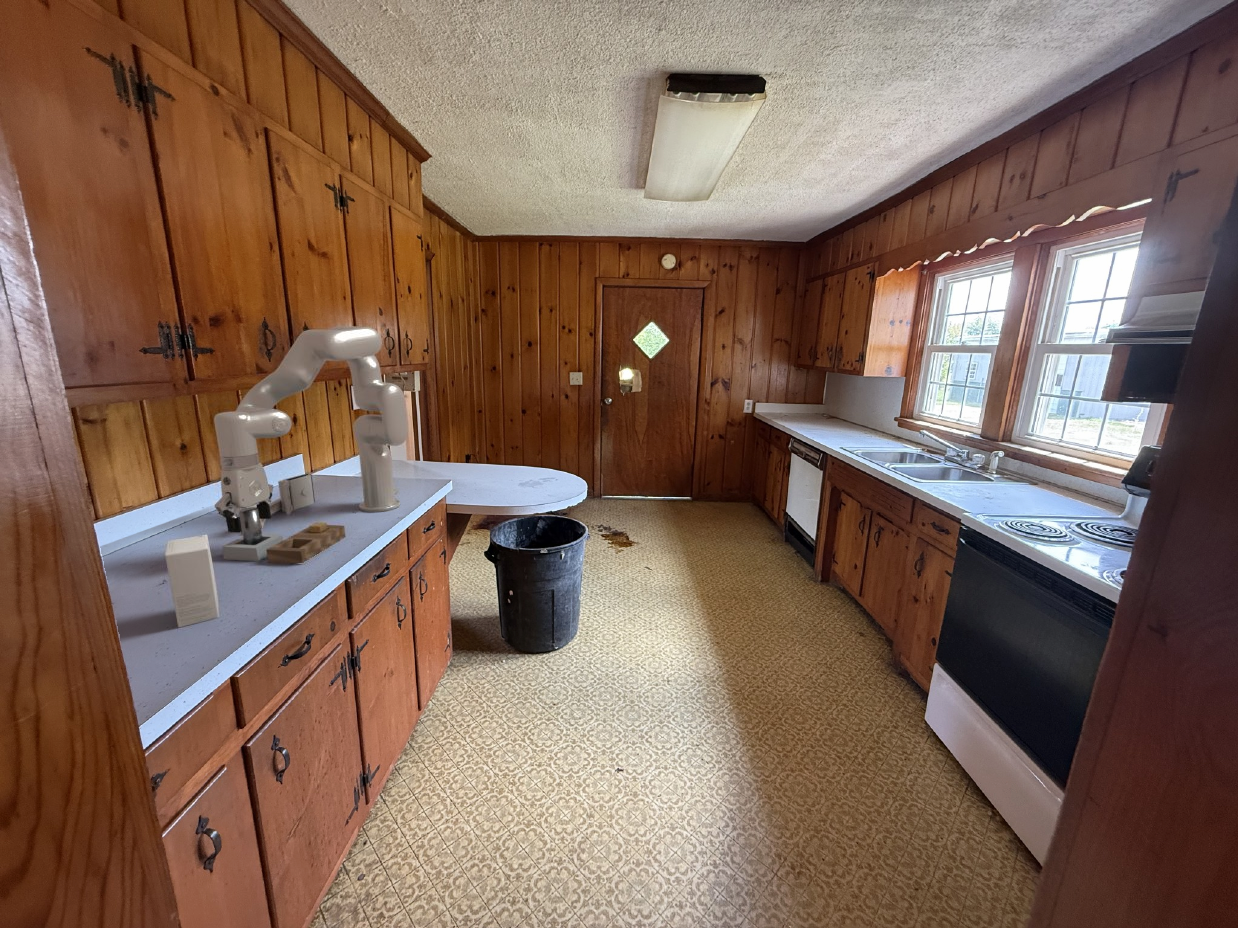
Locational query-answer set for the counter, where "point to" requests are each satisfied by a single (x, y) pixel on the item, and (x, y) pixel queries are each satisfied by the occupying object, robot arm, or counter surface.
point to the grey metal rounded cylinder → (251, 526)
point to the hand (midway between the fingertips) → (250, 525)
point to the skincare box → (192, 580)
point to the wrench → (271, 509)
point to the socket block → (304, 545)
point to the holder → (250, 548)
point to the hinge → (296, 492)
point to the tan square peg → (318, 527)
